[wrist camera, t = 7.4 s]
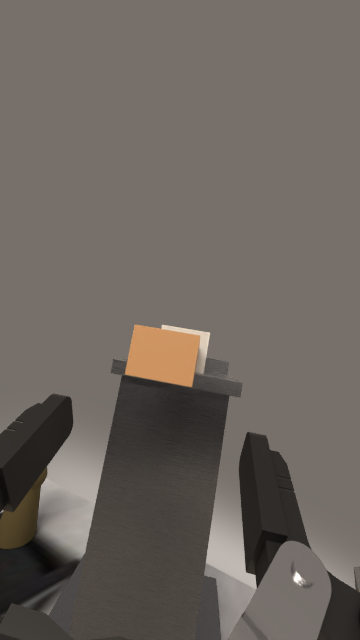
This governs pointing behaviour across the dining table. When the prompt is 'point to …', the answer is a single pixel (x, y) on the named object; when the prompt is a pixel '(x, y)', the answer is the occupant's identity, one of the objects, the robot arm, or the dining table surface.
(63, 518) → the dining table surface
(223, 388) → the dark gray pedestal stand
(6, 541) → the cork
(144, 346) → the orange rectangular block
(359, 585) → the coffeepot
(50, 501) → the dining table surface
